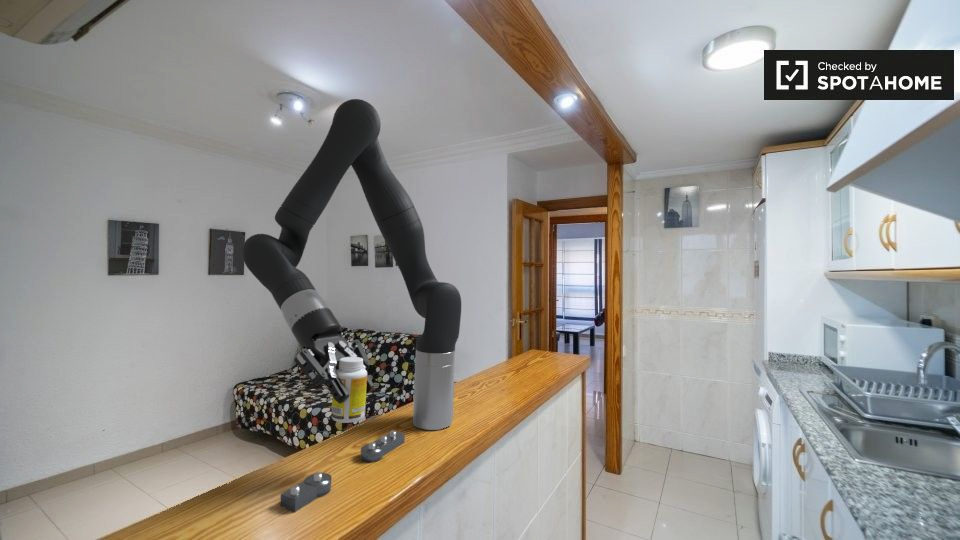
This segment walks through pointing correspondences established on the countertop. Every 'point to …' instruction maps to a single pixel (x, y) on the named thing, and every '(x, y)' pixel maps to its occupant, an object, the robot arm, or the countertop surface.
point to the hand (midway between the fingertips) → (357, 395)
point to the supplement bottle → (351, 390)
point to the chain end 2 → (381, 446)
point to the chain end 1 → (306, 491)
